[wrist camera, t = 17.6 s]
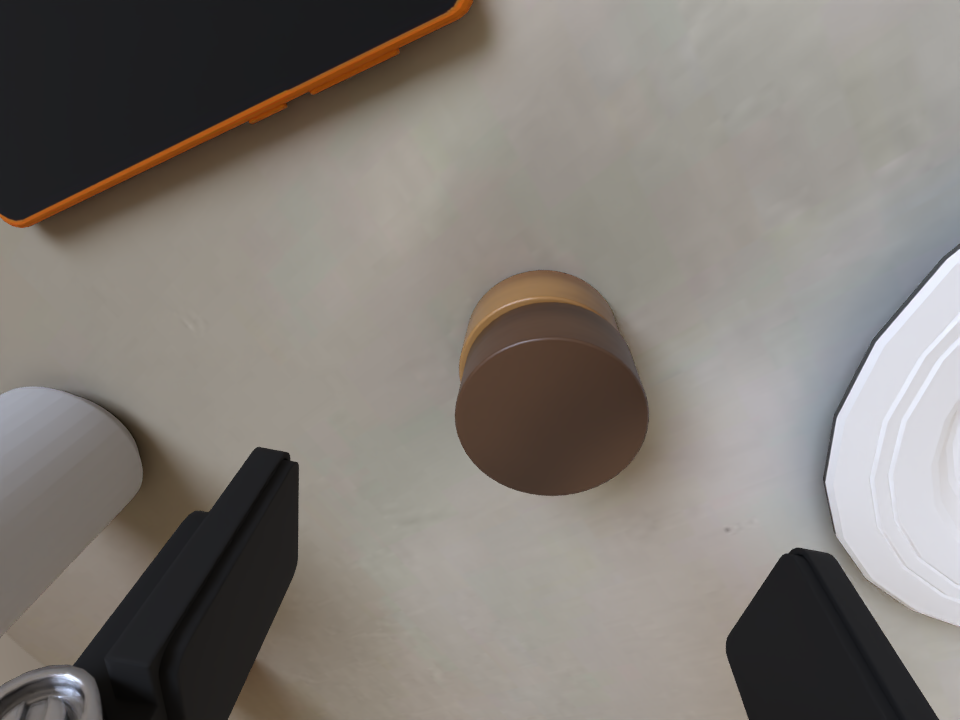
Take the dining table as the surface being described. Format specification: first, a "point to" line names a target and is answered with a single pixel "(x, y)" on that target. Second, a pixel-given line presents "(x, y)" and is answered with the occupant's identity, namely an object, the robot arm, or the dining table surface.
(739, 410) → the dining table surface
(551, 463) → the walnut chip
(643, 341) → the dining table surface
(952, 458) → the plate
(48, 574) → the beverage can
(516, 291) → the oak chip
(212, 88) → the smartphone
